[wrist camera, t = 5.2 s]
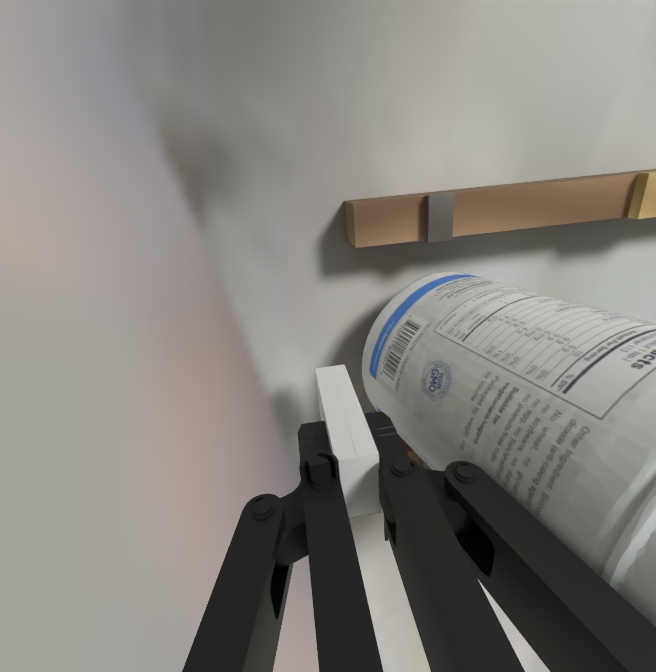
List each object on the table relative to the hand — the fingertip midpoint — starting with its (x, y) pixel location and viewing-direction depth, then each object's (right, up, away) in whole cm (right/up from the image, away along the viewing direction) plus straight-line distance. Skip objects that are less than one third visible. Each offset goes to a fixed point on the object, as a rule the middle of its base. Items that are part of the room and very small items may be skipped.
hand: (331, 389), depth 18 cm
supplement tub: (+6, +2, +3) cm, 7 cm away
